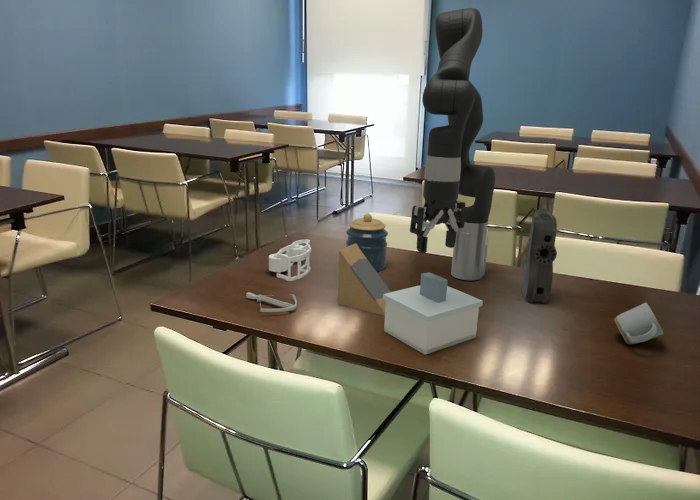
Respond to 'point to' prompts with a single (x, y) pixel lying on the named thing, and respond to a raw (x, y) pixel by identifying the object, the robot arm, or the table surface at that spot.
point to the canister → (369, 240)
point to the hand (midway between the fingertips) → (435, 249)
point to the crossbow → (273, 301)
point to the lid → (432, 299)
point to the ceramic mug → (638, 324)
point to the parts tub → (430, 328)
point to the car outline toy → (291, 260)
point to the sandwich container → (360, 282)
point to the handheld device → (539, 258)
